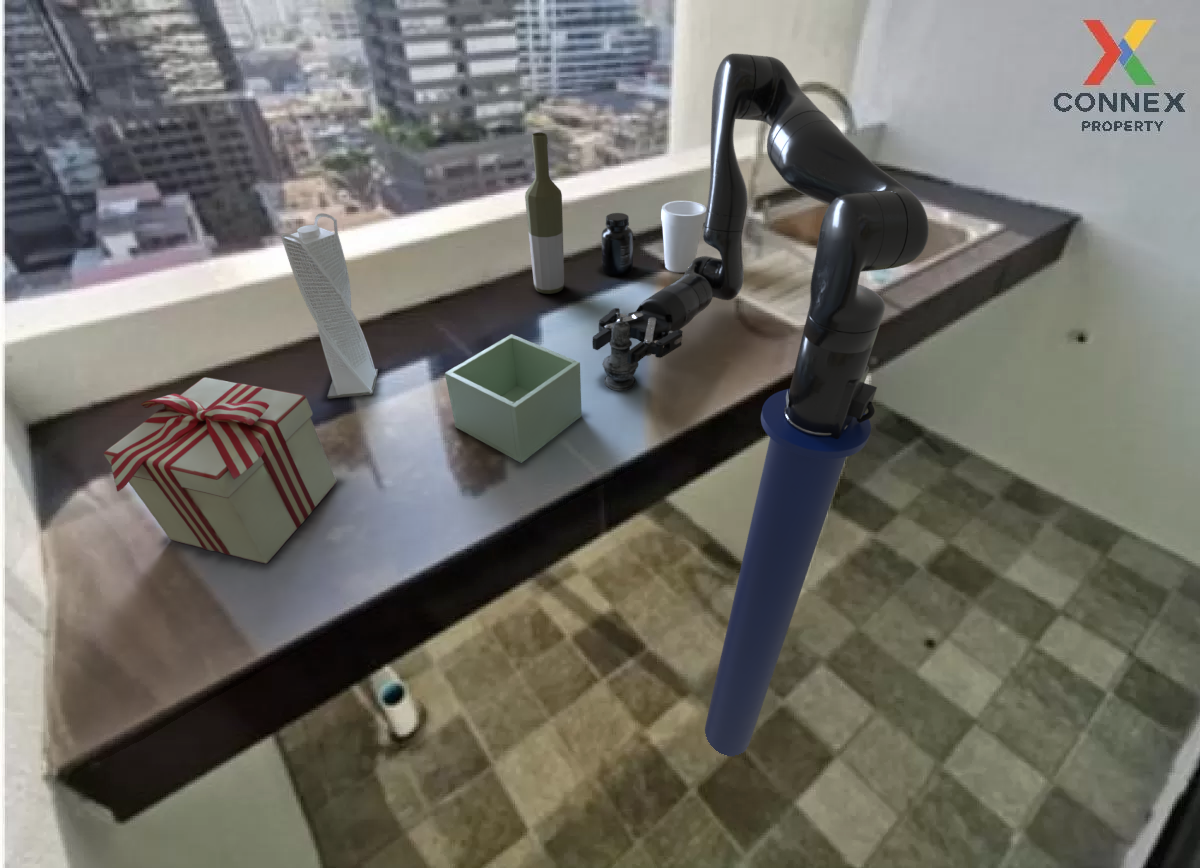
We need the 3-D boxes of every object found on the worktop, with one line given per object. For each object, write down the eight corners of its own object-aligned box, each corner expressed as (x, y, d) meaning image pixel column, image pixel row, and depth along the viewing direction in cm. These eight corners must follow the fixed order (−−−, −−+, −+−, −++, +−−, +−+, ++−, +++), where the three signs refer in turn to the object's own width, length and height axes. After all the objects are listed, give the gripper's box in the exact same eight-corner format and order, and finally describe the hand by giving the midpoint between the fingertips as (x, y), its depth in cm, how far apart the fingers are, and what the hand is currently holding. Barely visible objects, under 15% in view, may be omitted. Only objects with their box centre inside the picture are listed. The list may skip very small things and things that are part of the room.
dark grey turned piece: (627, 395, 97) (629, 329, 90) (595, 385, 99) (595, 320, 92) (643, 377, 101) (646, 313, 94) (612, 368, 103) (613, 304, 96)
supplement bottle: (630, 263, 137) (632, 210, 129) (634, 276, 132) (635, 221, 124) (600, 264, 137) (600, 211, 129) (602, 277, 131) (602, 222, 124)
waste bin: (581, 416, 93) (580, 362, 87) (521, 463, 85) (514, 407, 79) (517, 386, 99) (511, 333, 93) (455, 427, 91) (444, 372, 85)
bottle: (572, 290, 127) (566, 134, 108) (545, 300, 123) (534, 141, 104) (553, 278, 131) (544, 127, 112) (526, 288, 128) (512, 133, 108)
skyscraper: (386, 370, 103) (341, 204, 86) (381, 397, 97) (330, 225, 79) (335, 374, 102) (279, 208, 85) (326, 402, 96) (263, 229, 78)
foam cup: (686, 279, 130) (691, 219, 122) (650, 268, 135) (653, 209, 127) (707, 264, 136) (714, 206, 128) (672, 254, 141) (677, 197, 132)
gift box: (142, 567, 71) (57, 458, 60) (241, 463, 85) (187, 359, 74) (273, 588, 69) (209, 478, 58) (352, 478, 83) (314, 372, 72)
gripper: (635, 279, 106) (575, 316, 95) (707, 302, 99) (651, 345, 89) (634, 318, 110) (576, 357, 100) (702, 342, 104) (648, 387, 93)
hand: (611, 351), depth 94 cm, fingers open, 6 cm apart
